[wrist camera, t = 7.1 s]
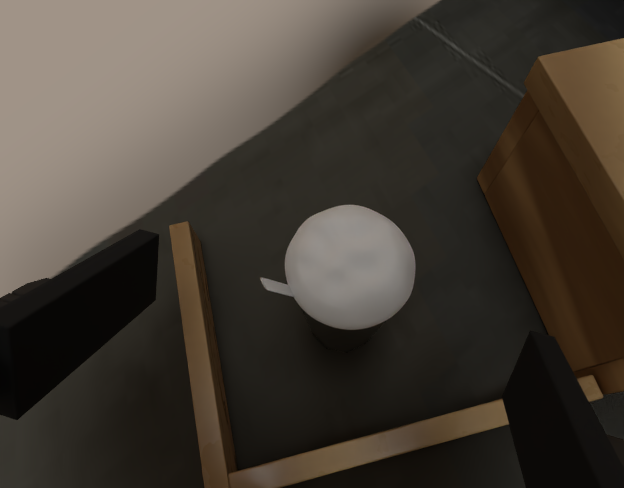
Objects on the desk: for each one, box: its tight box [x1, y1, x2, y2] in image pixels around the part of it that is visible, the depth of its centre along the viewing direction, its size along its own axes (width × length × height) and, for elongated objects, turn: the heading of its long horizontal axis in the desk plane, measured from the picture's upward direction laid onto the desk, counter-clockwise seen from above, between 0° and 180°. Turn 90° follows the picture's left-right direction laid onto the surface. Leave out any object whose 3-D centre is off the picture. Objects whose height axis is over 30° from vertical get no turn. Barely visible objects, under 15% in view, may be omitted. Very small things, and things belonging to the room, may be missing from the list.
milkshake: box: [260, 205, 415, 353], centre depth 19 cm, size 5×5×10 cm
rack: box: [169, 38, 624, 488], centre depth 20 cm, size 30×13×9 cm, turn 104°
